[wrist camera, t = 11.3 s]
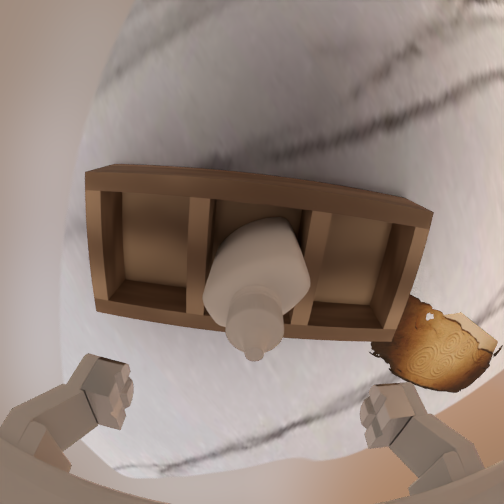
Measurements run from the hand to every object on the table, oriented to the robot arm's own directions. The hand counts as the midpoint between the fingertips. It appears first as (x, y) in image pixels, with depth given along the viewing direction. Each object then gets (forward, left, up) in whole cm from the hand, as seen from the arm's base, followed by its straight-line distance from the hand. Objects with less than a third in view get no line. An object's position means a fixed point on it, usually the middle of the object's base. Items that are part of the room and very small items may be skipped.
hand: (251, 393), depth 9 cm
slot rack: (0, 0, -15) cm, 15 cm away
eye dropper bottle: (0, 0, -14) cm, 14 cm away
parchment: (+10, +22, -16) cm, 29 cm away
